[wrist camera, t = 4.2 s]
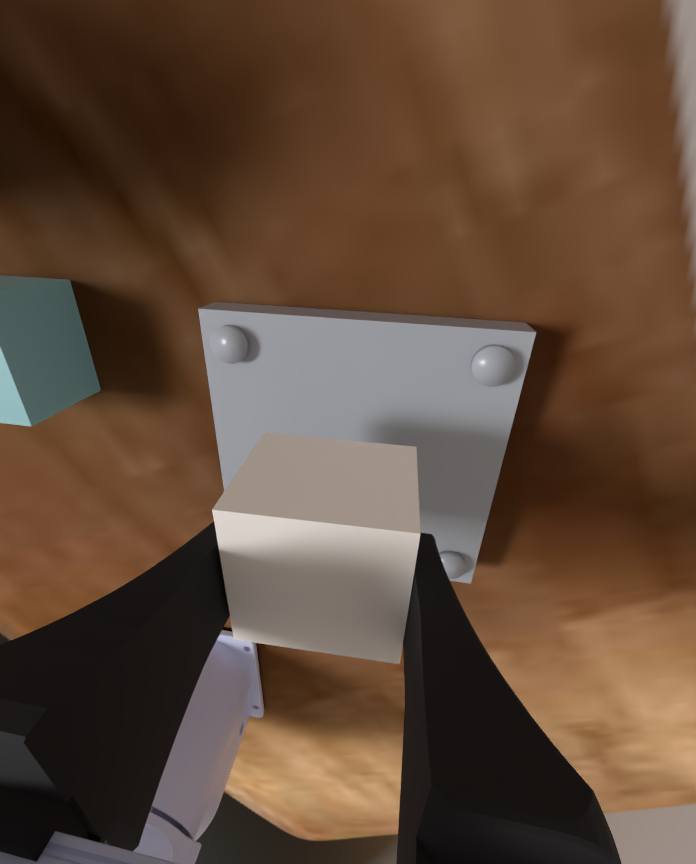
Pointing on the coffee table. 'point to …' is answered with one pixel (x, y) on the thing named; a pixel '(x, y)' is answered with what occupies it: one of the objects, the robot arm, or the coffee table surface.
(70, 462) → the coffee table surface
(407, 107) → the coffee table surface
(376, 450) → the brick ivory
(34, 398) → the brick teal
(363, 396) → the baseplate
